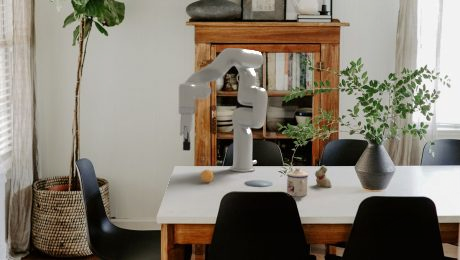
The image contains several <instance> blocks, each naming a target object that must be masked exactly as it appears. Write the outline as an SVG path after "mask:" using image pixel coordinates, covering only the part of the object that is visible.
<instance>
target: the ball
mask: <svg viewBox="0 0 460 260" xmlns="http://www.w3.org/2000/svg"><path fill="white" fill-rule="evenodd" d="M200 179H201V181H202V182H204V183H206V184H207V183H211V182H212V181H213V179H214V173H213V172H212V170H209V169H204V170H203V171H201V173H200Z"/></svg>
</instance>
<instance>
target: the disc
mask: <svg viewBox="0 0 460 260" xmlns="http://www.w3.org/2000/svg"><path fill="white" fill-rule="evenodd" d="M273 184H274V183H273V182H272V181H268V180H260V179H255V180H254V179H252V180H247V181H245V182H244V185H245V186H249V187H256V188H257V187H258V188H265V187H271V186H273Z"/></svg>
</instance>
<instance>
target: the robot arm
mask: <svg viewBox="0 0 460 260" xmlns="http://www.w3.org/2000/svg"><path fill="white" fill-rule="evenodd" d="M263 64H264V56H263V54H262V53H261V52H260V51H256V50H251V49H245V48H239V47H237V48H236V47H235V48H233V47H227V48H224V49H223V50H222V51H221V52H220V53H219V54H218V55H217V56H216V57H215V58H214V59H213V61H212V62H210V64H208V65H207V66H204V67H203V68H201V69H199V70H197V71H195V72H194V73H193V74H191V75H190V76H189V77H188V78H187V79H186V80H185V82H184V83H181V84H179V86H178V114H179V115H180V118H179V120H180V121H179V123H180V124H179V136H180V137H181V136H182V135H183V137H182V139H183V141H182V151H191V135H192V133H193V117H194V116H193V115H196V99H200V100H201V99H202V100H204V99H207V98H209V97H210V96H211V93H212V88H211V86H210V85H209V84H208V83H210V82H214V81H218V80H221V79H222V78H223V77H224V76H225V75H226V74H227V73H228V71H229V70H230V69H231V68H232V67H235V68H236V70H237V71H238V72H237V73H238V75H239V80H238V81H239V82H238V90H237V102H238V103H239V104H240V105H243V106H251V107H252V108H251V107H238V108H236V109H234V110H233V112H232V113H231V114H232V115H231V121H232V126H233V157H232V158H233V160H232V161H233V162H232V165H231V166H230V168H229V169H230V171H234V172H242V173H247V172H254V171H255V170H256V168H255V167H256V166H253V165H256V164H257V163H258V162H257V160H256V159H254V160H253V132H252V129H261V128H262V127H263V126H264V125H265V122H266V118H267V117H266V116H267V109H268V99H269V96H268V92H267V91H266V89H265V88H263V87H260V86H257V74H256V70H257V69H259V68H261V67H262V66H263ZM255 69H256V70H255Z"/></svg>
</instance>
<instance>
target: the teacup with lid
mask: <svg viewBox="0 0 460 260" xmlns="http://www.w3.org/2000/svg"><path fill="white" fill-rule="evenodd" d="M286 177H287V181H286V183H287V184H286V190H287V191H286V194H287V193H289V194H291V195H292V196H291V197H305V196H307V194H308V179H309V178H308V177H309V174H308V173H307V172H305V171H304V170H301V168H300V167H296V168H295V169H293V170H291V171H288V172H287V174H286Z"/></svg>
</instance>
